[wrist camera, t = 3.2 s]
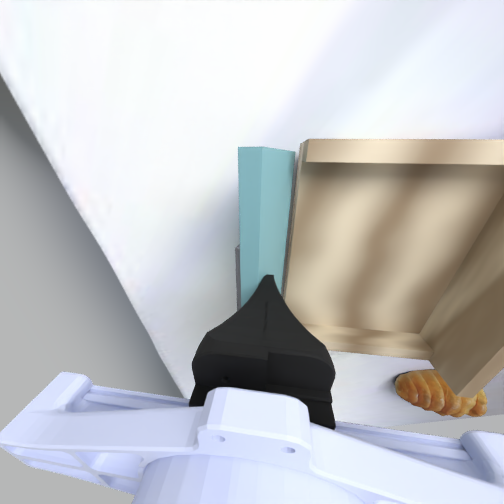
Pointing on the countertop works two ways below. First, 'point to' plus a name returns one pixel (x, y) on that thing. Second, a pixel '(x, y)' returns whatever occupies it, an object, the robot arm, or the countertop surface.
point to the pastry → (437, 395)
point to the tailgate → (262, 216)
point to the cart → (402, 252)
